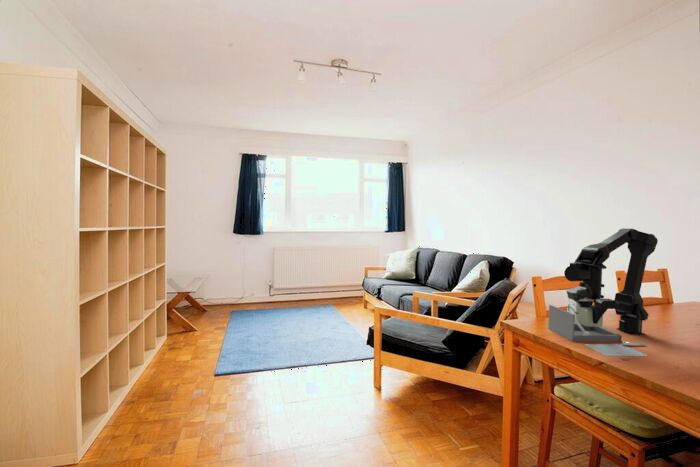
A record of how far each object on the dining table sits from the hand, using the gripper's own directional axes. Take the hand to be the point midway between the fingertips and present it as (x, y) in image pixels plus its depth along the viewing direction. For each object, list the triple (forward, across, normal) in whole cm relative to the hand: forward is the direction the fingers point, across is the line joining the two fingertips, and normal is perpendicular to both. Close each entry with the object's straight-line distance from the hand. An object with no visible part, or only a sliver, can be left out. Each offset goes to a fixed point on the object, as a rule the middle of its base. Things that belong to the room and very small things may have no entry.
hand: (590, 321), depth 128 cm
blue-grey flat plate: (+6, +14, -2) cm, 15 cm away
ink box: (+6, -17, +7) cm, 19 cm away
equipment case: (+6, -1, -2) cm, 6 cm away
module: (+1, 0, 0) cm, 1 cm away
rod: (+6, +10, +8) cm, 14 cm away
